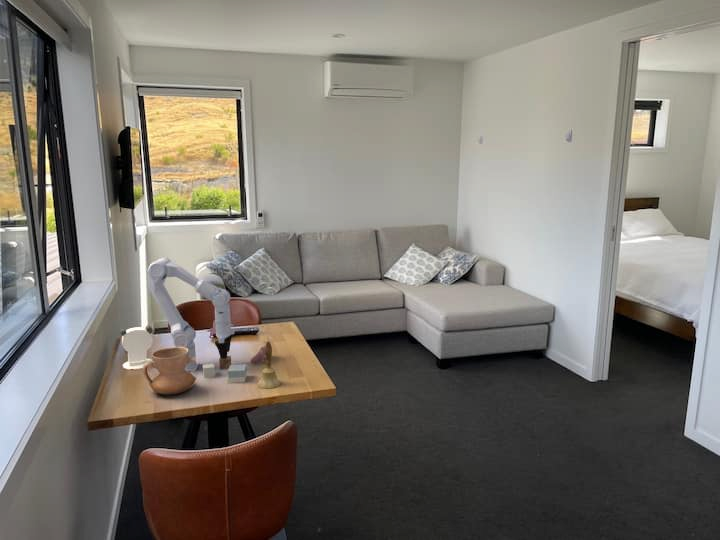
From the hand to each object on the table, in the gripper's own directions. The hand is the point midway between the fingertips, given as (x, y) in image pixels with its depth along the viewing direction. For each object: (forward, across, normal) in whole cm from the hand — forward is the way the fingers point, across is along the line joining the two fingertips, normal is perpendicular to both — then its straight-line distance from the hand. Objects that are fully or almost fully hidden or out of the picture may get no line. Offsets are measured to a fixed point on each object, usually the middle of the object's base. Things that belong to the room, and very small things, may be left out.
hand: (225, 355), depth 210 cm
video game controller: (+5, +6, -13) cm, 16 cm away
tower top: (+3, -13, -6) cm, 15 cm away
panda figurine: (+5, +8, +35) cm, 36 cm away
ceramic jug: (+5, -20, +16) cm, 26 cm away
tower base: (+6, -13, -6) cm, 15 cm away
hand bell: (+5, -19, -18) cm, 27 cm away
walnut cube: (+5, 0, 0) cm, 5 cm away
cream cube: (+5, -8, +5) cm, 11 cm away
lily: (+5, +37, +7) cm, 38 cm away
